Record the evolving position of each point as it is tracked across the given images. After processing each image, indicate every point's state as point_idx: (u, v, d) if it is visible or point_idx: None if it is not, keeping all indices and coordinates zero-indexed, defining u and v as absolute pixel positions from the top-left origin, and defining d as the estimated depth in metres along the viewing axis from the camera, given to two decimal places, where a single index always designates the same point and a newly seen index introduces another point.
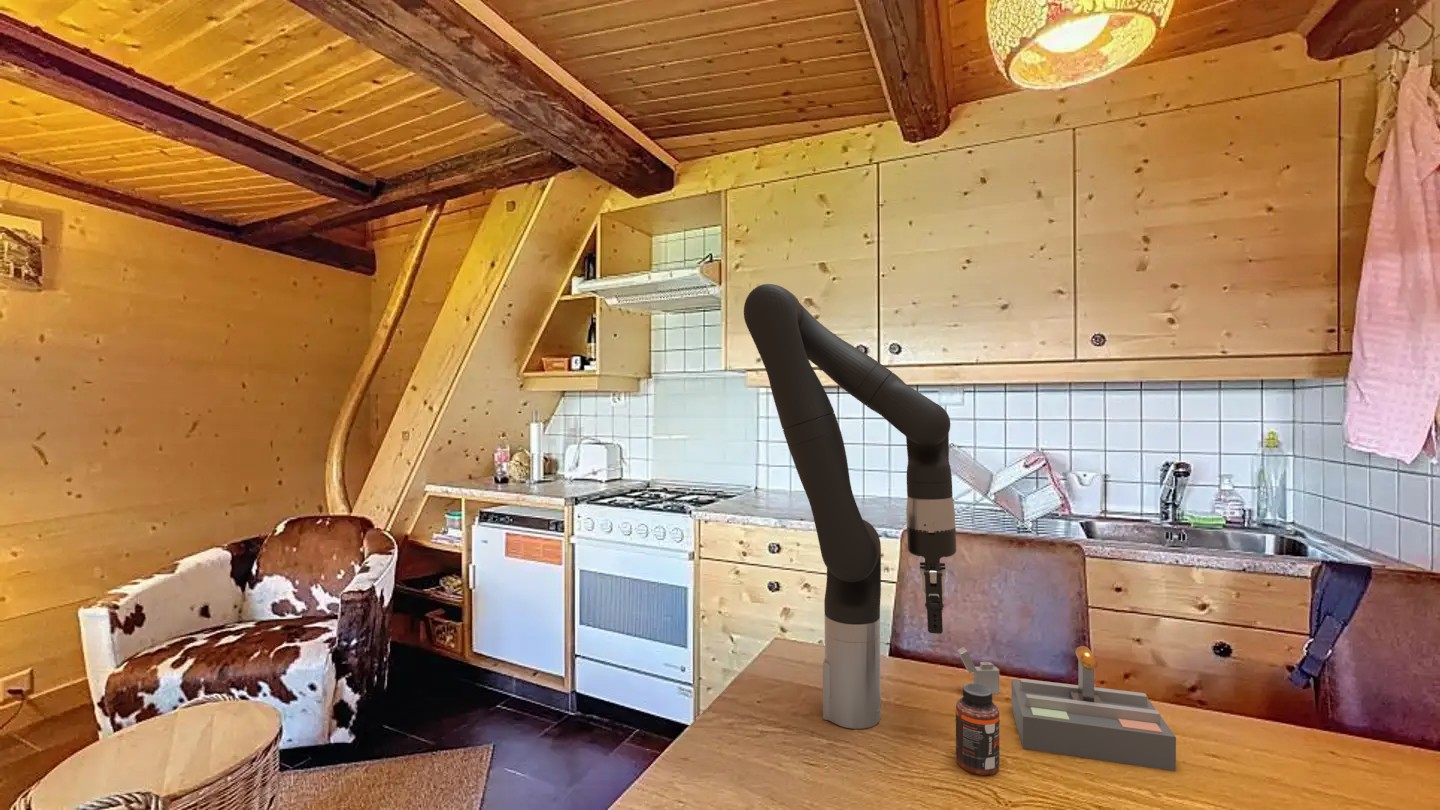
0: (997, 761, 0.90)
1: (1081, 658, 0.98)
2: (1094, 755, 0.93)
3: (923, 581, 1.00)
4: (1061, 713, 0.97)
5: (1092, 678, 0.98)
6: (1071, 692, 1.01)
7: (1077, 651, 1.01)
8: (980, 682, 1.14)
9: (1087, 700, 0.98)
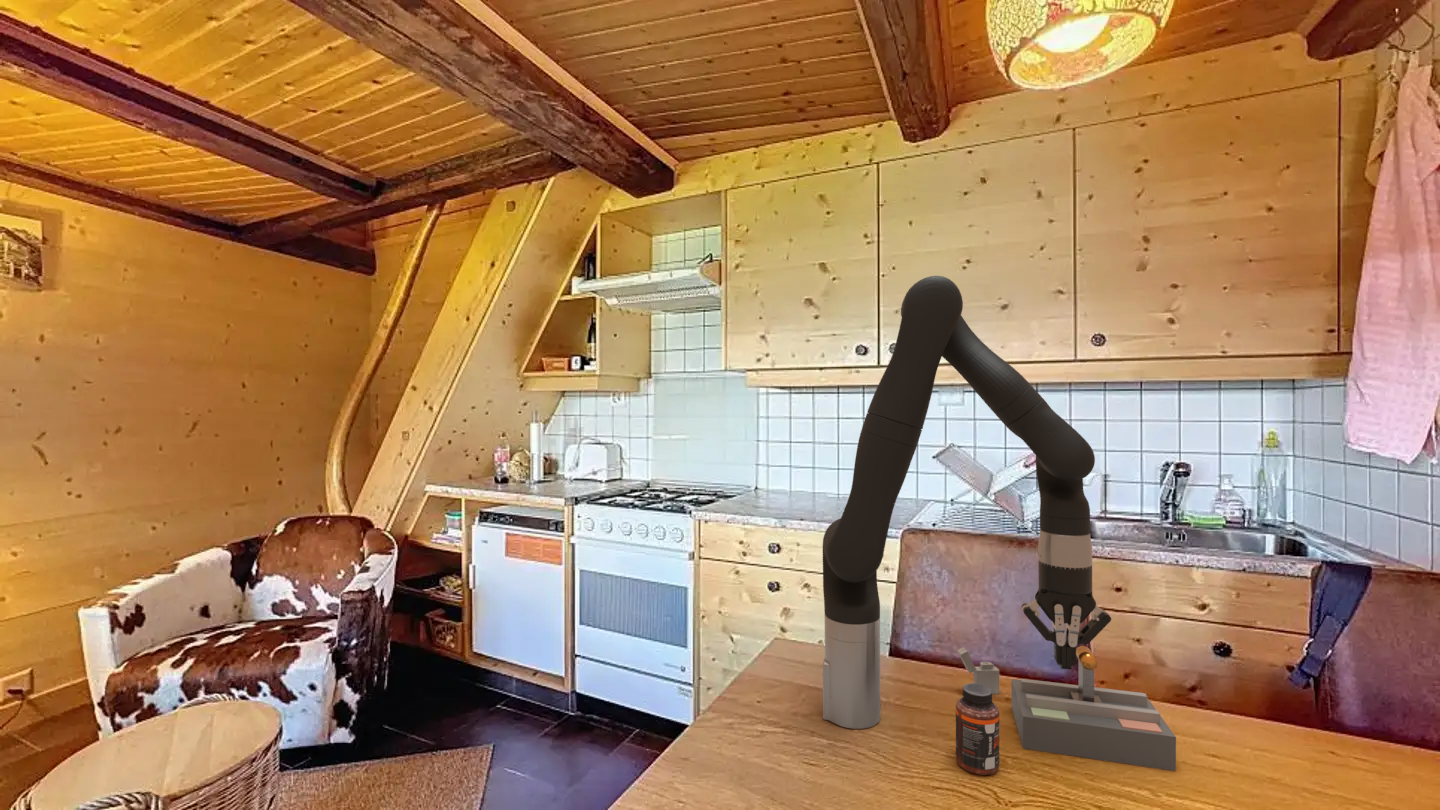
0: (997, 761, 0.90)
1: (1081, 658, 0.98)
2: (1094, 755, 0.93)
3: None
4: (1061, 713, 0.97)
5: (1092, 678, 0.98)
6: (1071, 692, 1.01)
7: (1077, 651, 1.01)
8: (980, 682, 1.14)
9: (1087, 700, 0.98)
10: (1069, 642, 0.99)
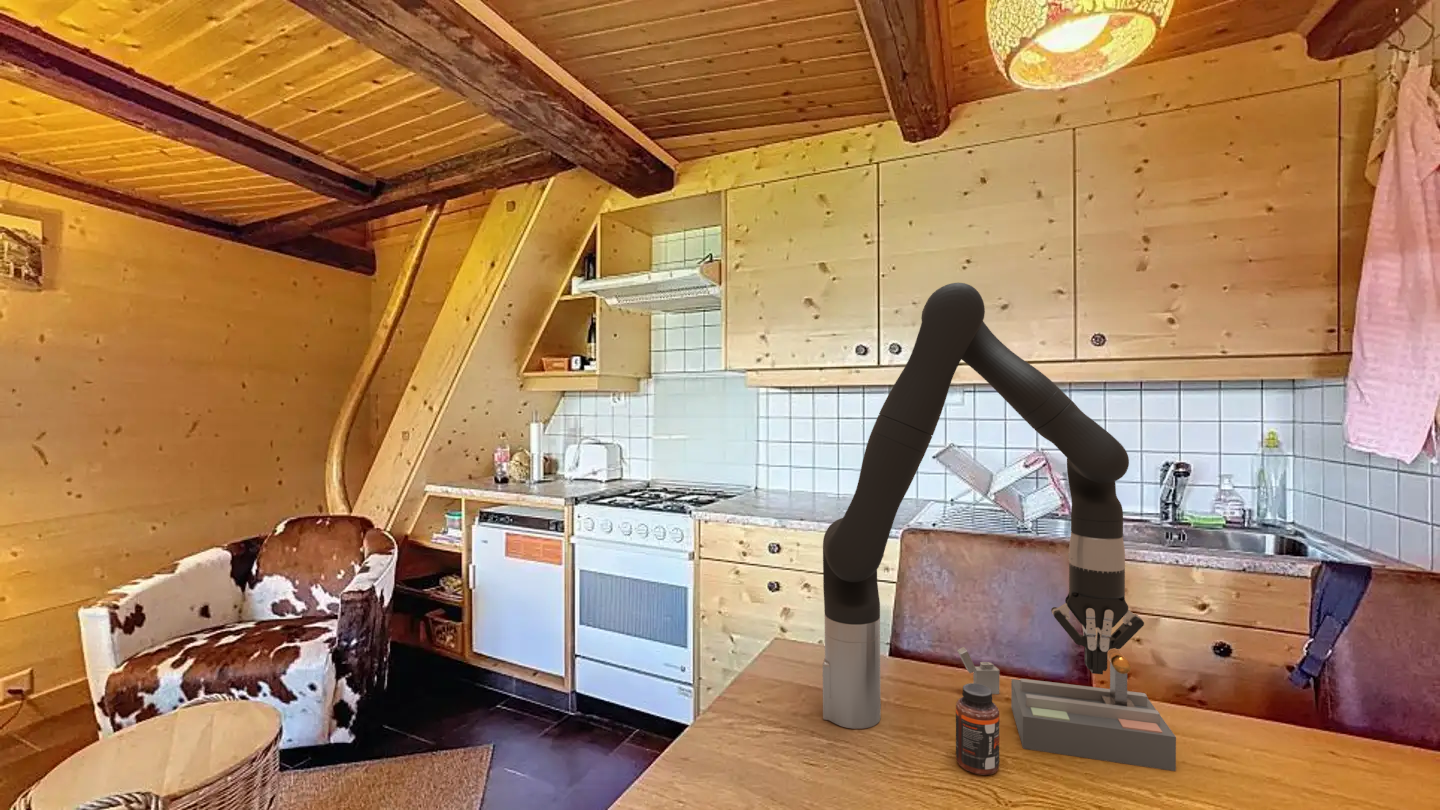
0: (997, 761, 0.90)
1: (1114, 661, 0.97)
2: (1094, 755, 0.93)
3: None
4: (1061, 713, 0.97)
5: (1125, 682, 0.96)
6: (1103, 696, 1.00)
7: (1109, 654, 0.99)
8: (980, 682, 1.14)
9: (1120, 704, 0.97)
10: (1100, 647, 0.98)
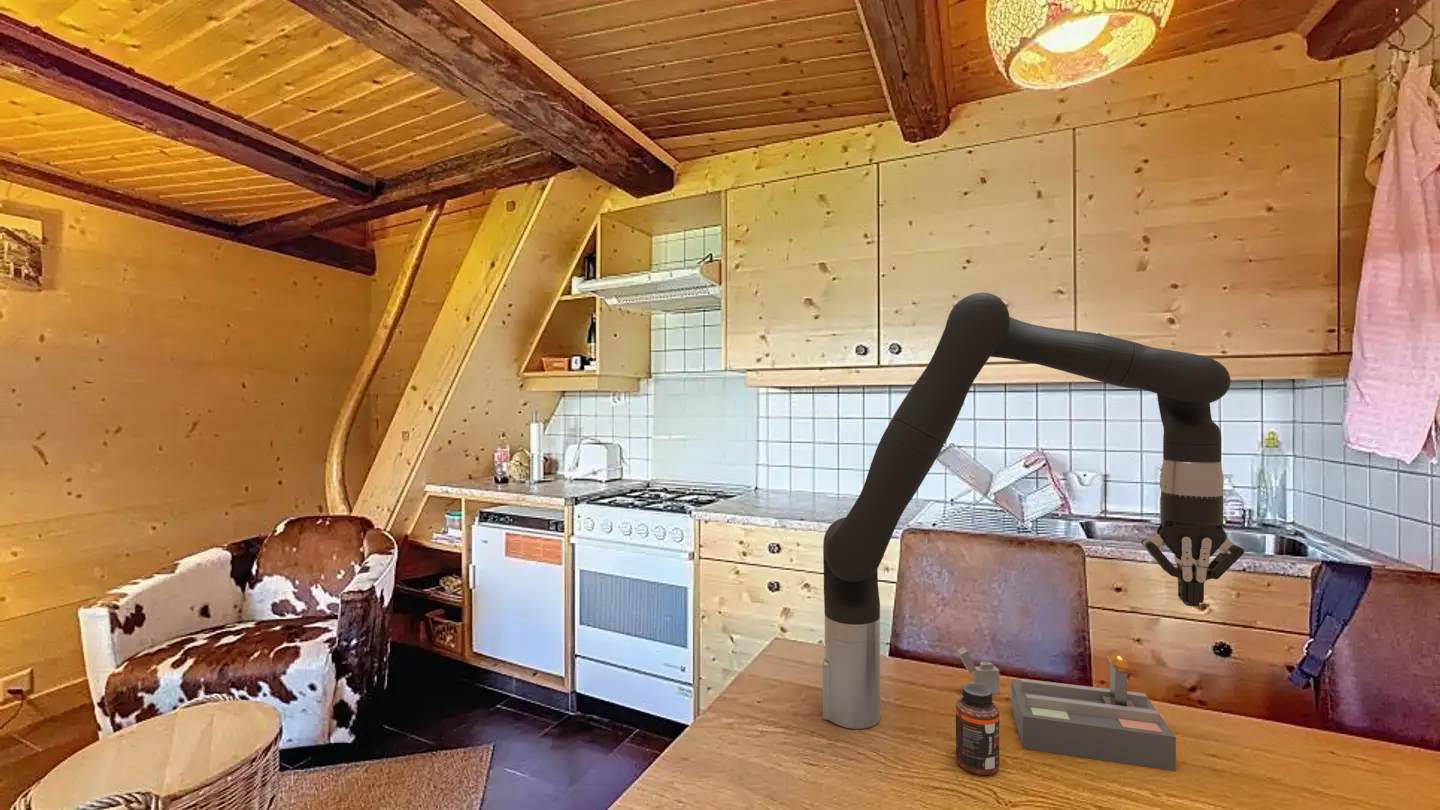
0: (997, 761, 0.90)
1: (1114, 661, 0.97)
2: (1094, 755, 0.93)
3: None
4: (1061, 713, 0.97)
5: (1125, 682, 0.96)
6: (1103, 696, 1.00)
7: (1109, 654, 0.99)
8: (980, 682, 1.14)
9: (1120, 704, 0.97)
10: (1197, 577, 0.93)
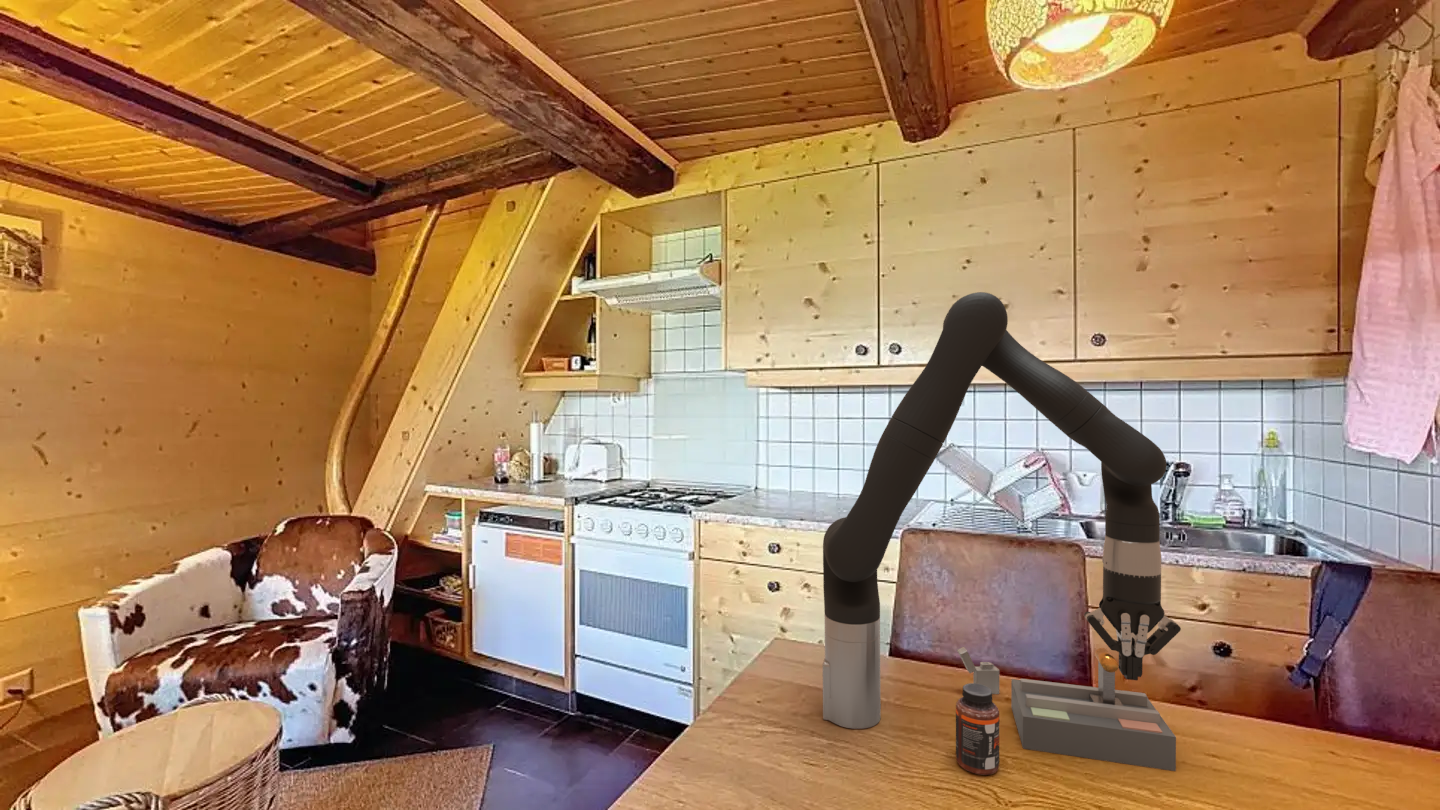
0: (997, 761, 0.90)
1: (1102, 660, 0.97)
2: (1094, 755, 0.93)
3: None
4: (1061, 713, 0.97)
5: (1113, 680, 0.97)
6: (1091, 694, 1.00)
7: (1097, 653, 1.00)
8: (980, 682, 1.14)
9: (1108, 703, 0.97)
10: (1135, 652, 0.96)
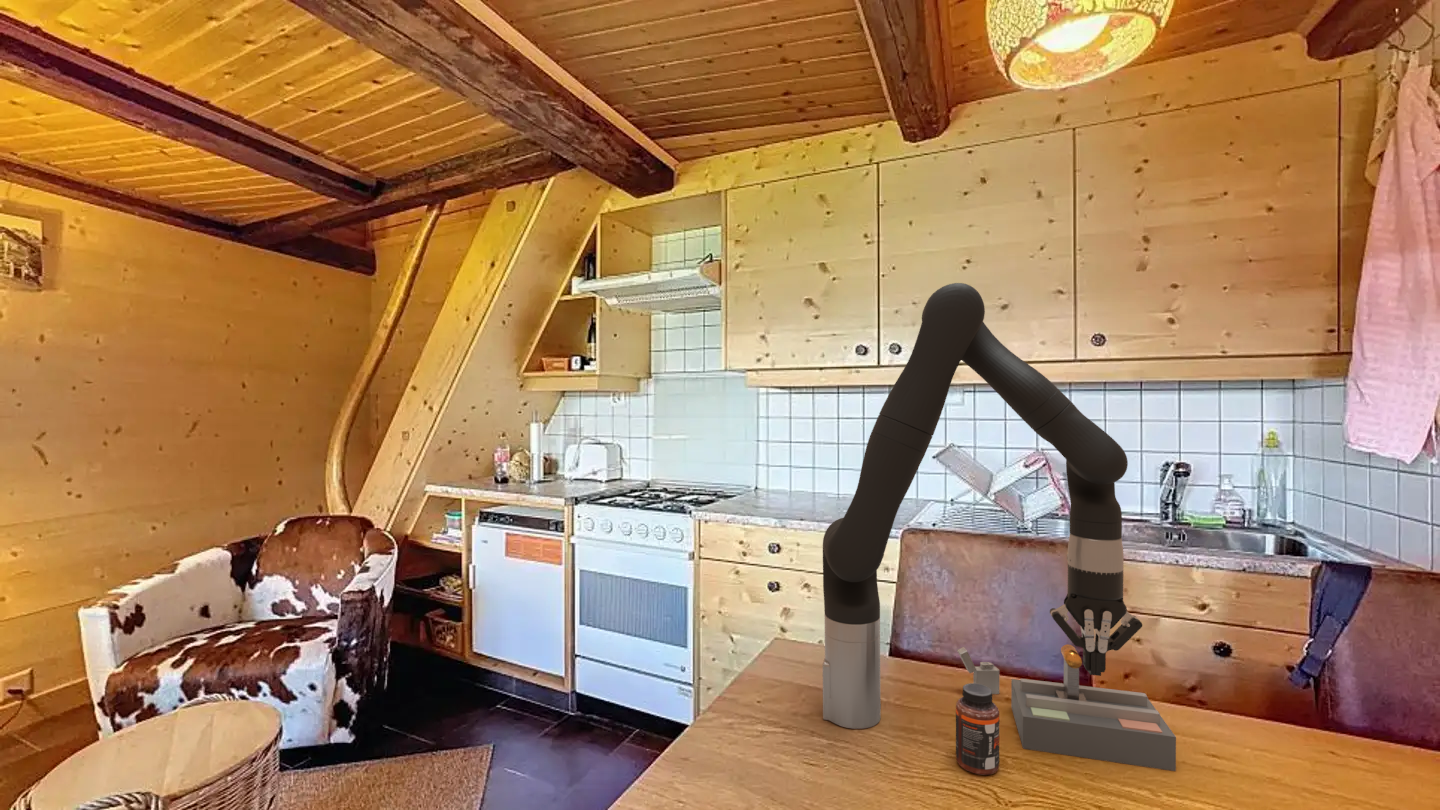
0: (997, 761, 0.90)
1: (1066, 656, 0.99)
2: (1094, 755, 0.93)
3: (1109, 628, 0.97)
4: (1061, 713, 0.97)
5: (1077, 676, 0.98)
6: (1056, 690, 1.02)
7: (1062, 649, 1.01)
8: (980, 682, 1.14)
9: (1072, 698, 0.99)
10: (1099, 648, 0.98)
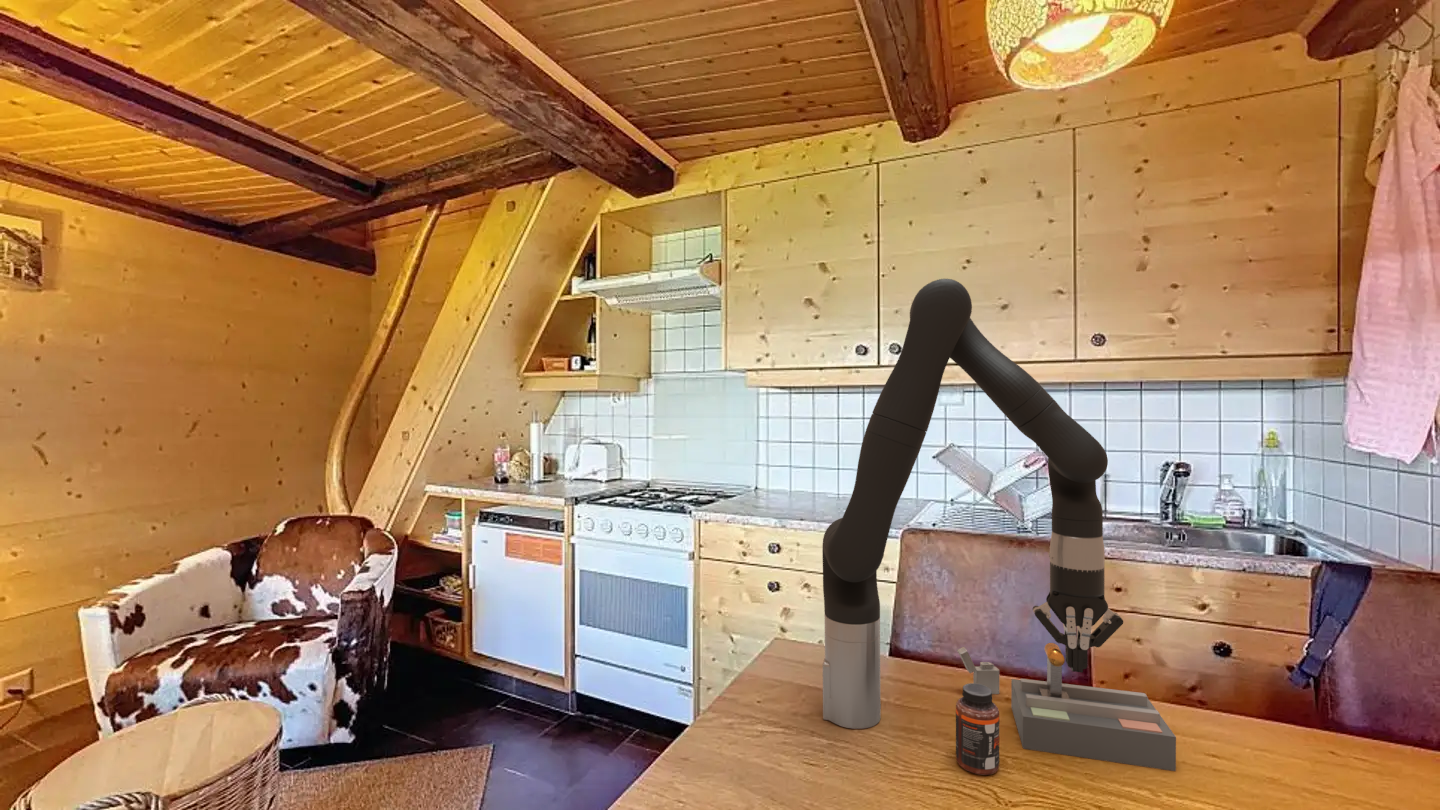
0: (997, 761, 0.90)
1: (1049, 655, 0.99)
2: (1094, 755, 0.93)
3: None
4: (1061, 713, 0.97)
5: (1060, 674, 0.99)
6: (1040, 688, 1.03)
7: (1046, 648, 1.02)
8: (980, 682, 1.14)
9: (1055, 696, 1.00)
10: (1081, 645, 0.98)
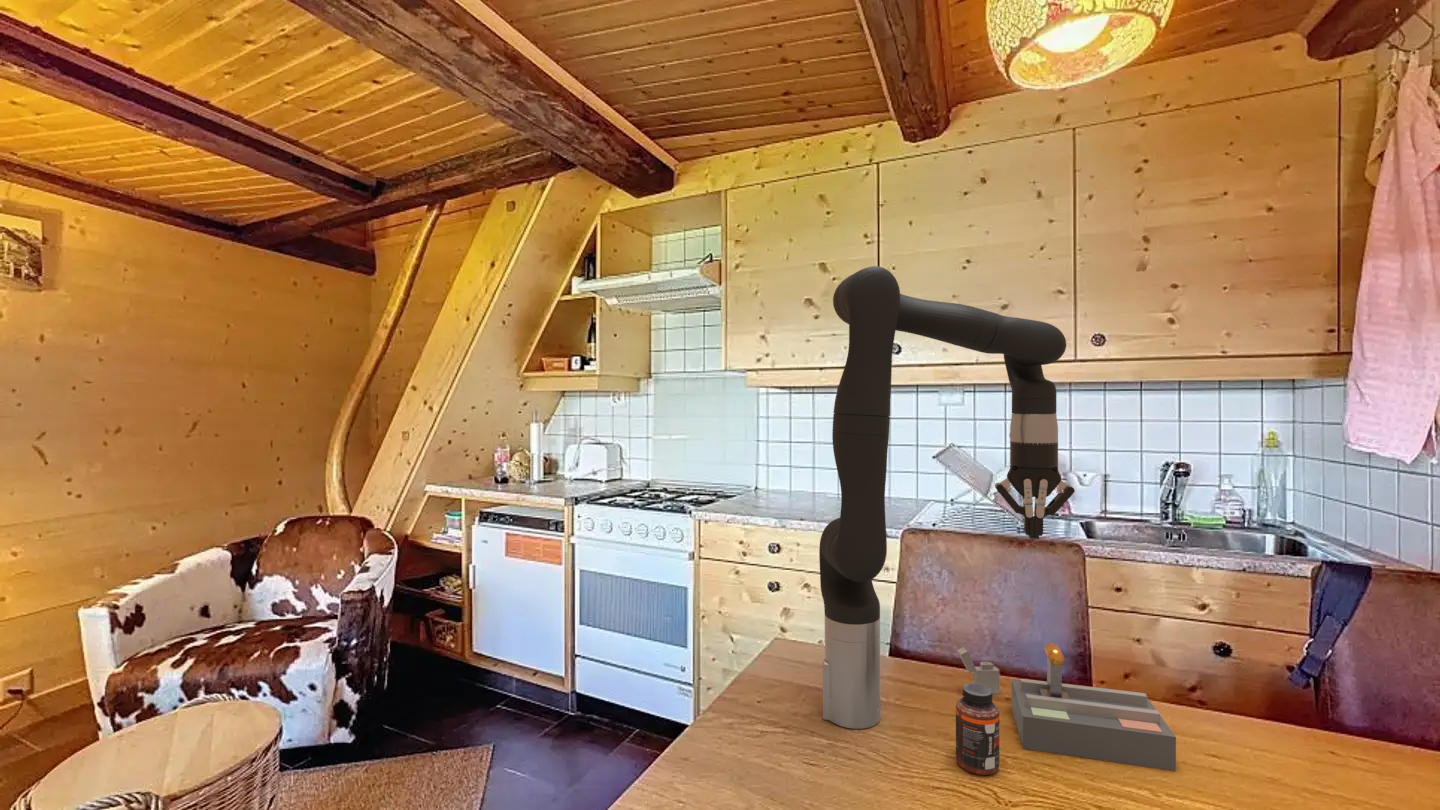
0: (997, 761, 0.90)
1: (1049, 655, 0.99)
2: (1094, 755, 0.93)
3: (1046, 494, 1.08)
4: (1061, 713, 0.97)
5: (1060, 674, 0.99)
6: (1040, 688, 1.03)
7: (1046, 648, 1.02)
8: (980, 682, 1.14)
9: (1055, 696, 1.00)
10: (1037, 514, 1.09)
